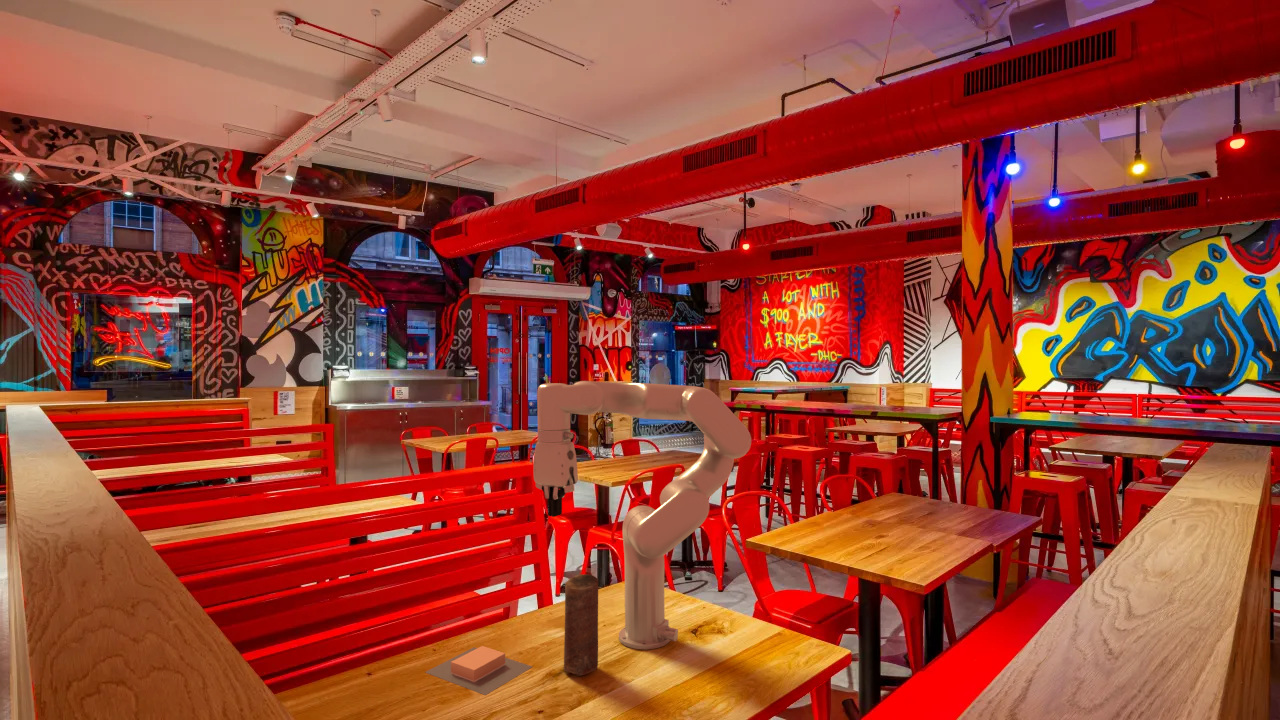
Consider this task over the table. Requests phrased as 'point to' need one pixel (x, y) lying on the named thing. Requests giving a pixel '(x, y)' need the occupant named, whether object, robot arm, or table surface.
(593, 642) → the brown weathered post
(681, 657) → the table surface
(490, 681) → the board
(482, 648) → the tile
